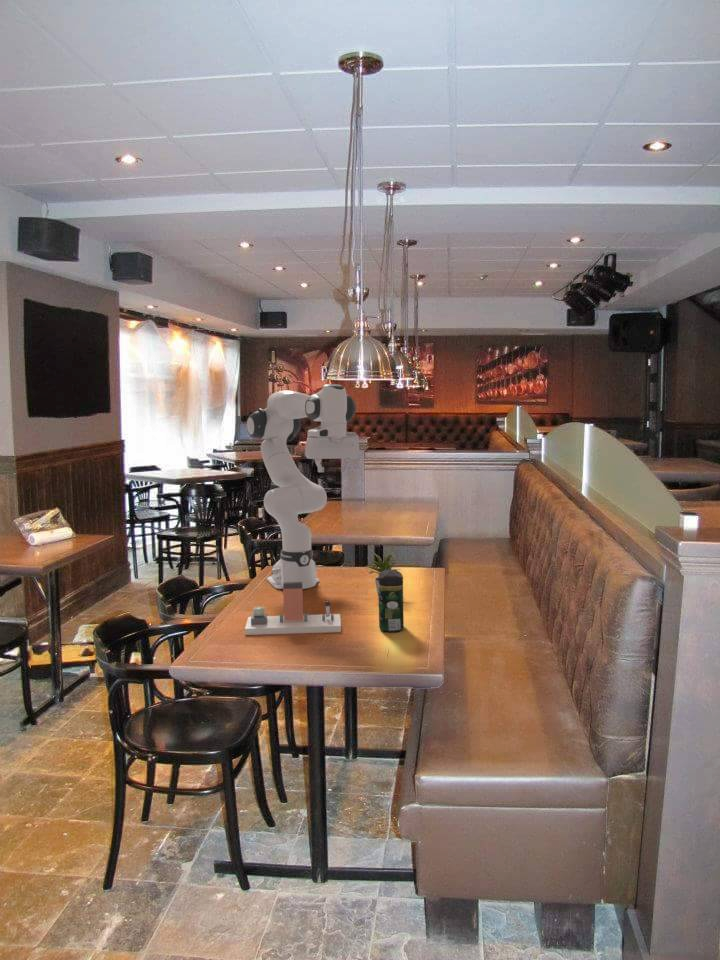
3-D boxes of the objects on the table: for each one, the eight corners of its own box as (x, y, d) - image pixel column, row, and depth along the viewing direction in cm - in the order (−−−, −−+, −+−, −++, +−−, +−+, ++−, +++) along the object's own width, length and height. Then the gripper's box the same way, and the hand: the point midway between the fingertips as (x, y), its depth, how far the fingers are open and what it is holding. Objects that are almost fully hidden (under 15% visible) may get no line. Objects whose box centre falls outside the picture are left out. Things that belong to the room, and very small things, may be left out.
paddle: (284, 618, 235) (283, 582, 233) (303, 618, 235) (302, 581, 233) (284, 620, 233) (283, 584, 231) (303, 619, 233) (302, 583, 232)
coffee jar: (378, 623, 237) (377, 567, 235) (402, 622, 237) (402, 567, 235) (379, 633, 228) (378, 575, 225) (404, 633, 228) (404, 575, 225)
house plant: (373, 587, 279) (373, 545, 277) (407, 590, 274) (407, 548, 272) (359, 597, 266) (359, 554, 264) (395, 601, 261) (395, 556, 259)
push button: (253, 612, 235) (253, 606, 234) (265, 612, 235) (264, 606, 235) (252, 616, 231) (252, 610, 231) (264, 615, 231) (264, 609, 231)
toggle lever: (325, 616, 235) (324, 601, 237) (330, 616, 236) (330, 601, 237) (325, 616, 234) (324, 600, 235) (330, 616, 234) (330, 600, 235)
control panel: (248, 622, 239) (248, 609, 239) (339, 619, 241) (339, 606, 240) (245, 635, 227) (244, 621, 227) (341, 631, 229) (340, 618, 229)
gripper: (353, 431, 258) (352, 470, 259) (303, 431, 246) (302, 471, 247) (363, 432, 252) (362, 472, 254) (312, 431, 241) (311, 473, 242)
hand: (332, 472), depth 250 cm, fingers open, 8 cm apart
